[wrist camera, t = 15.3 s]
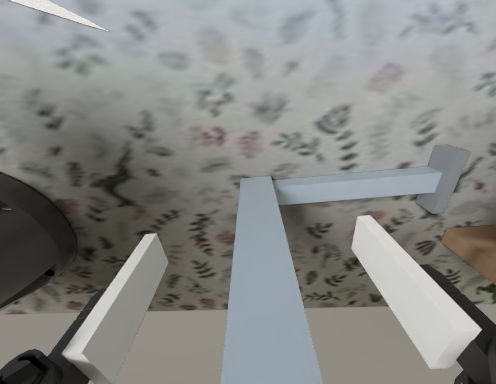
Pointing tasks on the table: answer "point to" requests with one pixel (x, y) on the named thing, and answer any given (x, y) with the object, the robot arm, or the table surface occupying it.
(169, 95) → the table surface
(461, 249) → the wooden arch block
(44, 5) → the scissors
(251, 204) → the push tool
